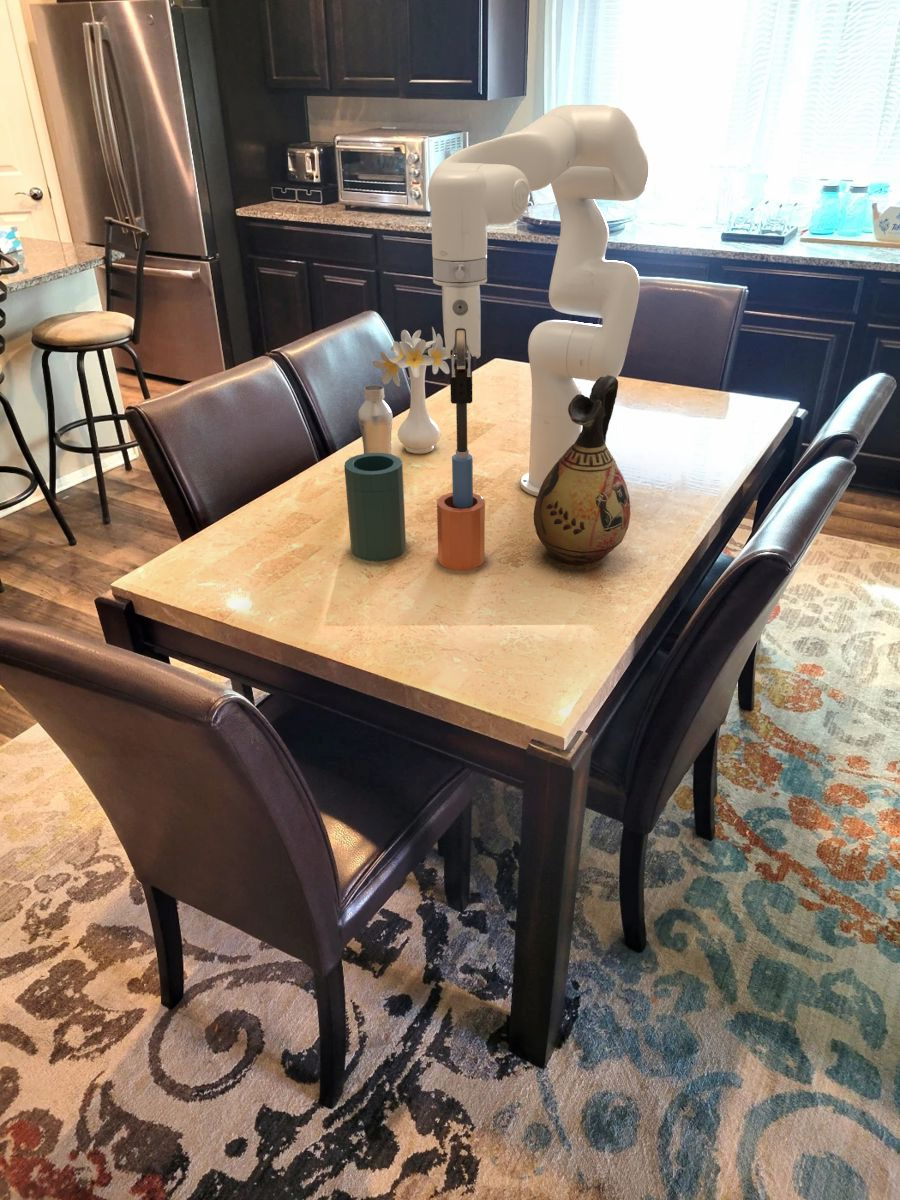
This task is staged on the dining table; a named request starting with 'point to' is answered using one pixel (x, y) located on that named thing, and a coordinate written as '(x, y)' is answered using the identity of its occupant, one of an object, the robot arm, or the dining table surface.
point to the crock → (460, 533)
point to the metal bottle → (375, 421)
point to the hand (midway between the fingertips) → (461, 399)
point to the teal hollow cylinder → (376, 506)
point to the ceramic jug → (585, 488)
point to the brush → (462, 463)
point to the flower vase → (415, 386)
